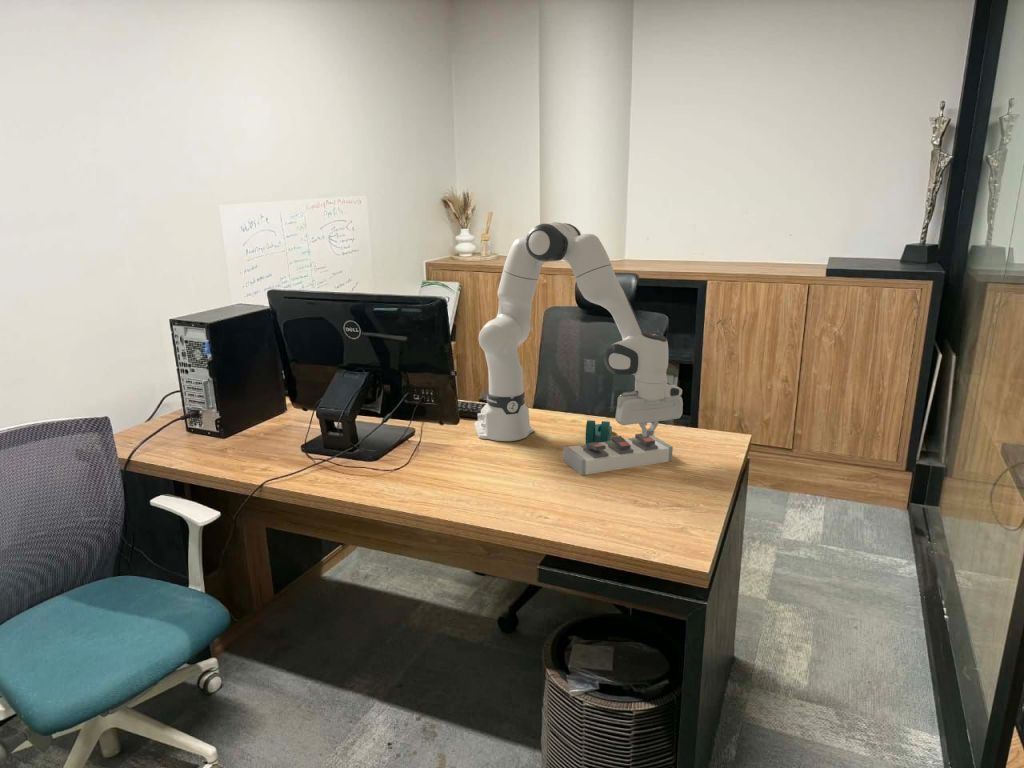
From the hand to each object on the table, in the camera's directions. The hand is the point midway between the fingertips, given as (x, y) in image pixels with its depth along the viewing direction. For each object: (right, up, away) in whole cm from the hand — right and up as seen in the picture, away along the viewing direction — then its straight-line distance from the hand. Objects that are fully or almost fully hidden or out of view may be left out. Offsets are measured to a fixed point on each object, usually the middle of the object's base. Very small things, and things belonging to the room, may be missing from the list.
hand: (647, 435), depth 201 cm
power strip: (-8, -8, +3) cm, 12 cm away
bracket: (-11, -3, +21) cm, 24 cm away
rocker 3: (0, -1, +2) cm, 3 cm away
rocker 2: (-8, -2, 0) cm, 8 cm away
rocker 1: (-15, -3, -3) cm, 16 cm away
